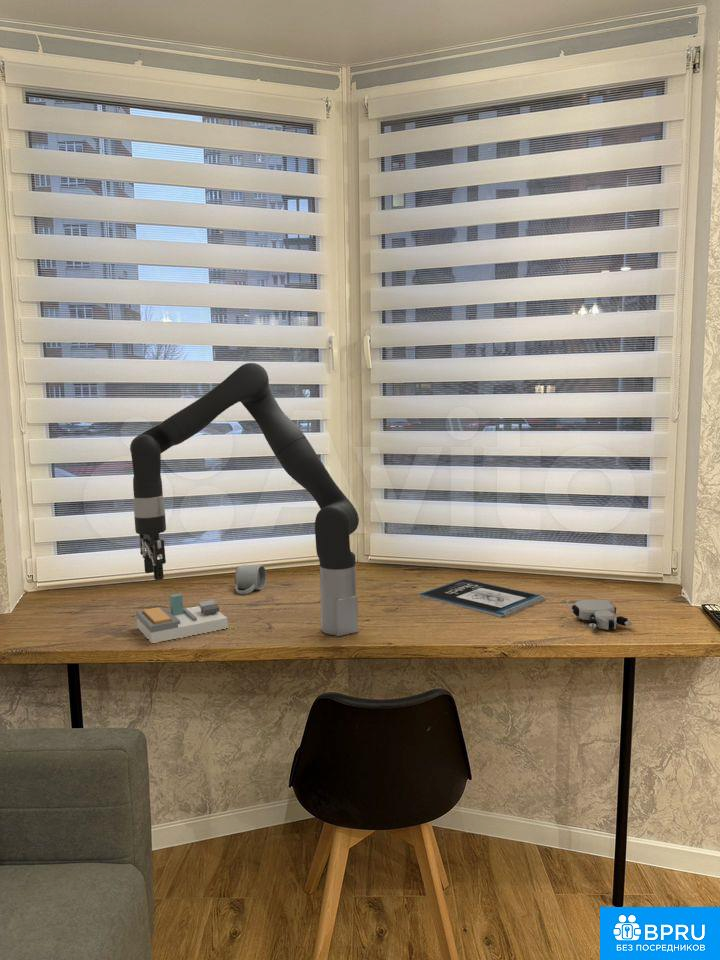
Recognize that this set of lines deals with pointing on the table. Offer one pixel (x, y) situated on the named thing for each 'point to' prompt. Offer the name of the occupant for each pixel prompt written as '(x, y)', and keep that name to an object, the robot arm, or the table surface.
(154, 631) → the switch panel
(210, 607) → the rocker switch
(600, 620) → the robot toy
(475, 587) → the sketchbook
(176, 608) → the slide switch
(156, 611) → the paddle button
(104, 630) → the table surface
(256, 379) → the robot arm
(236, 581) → the ceramic mug
